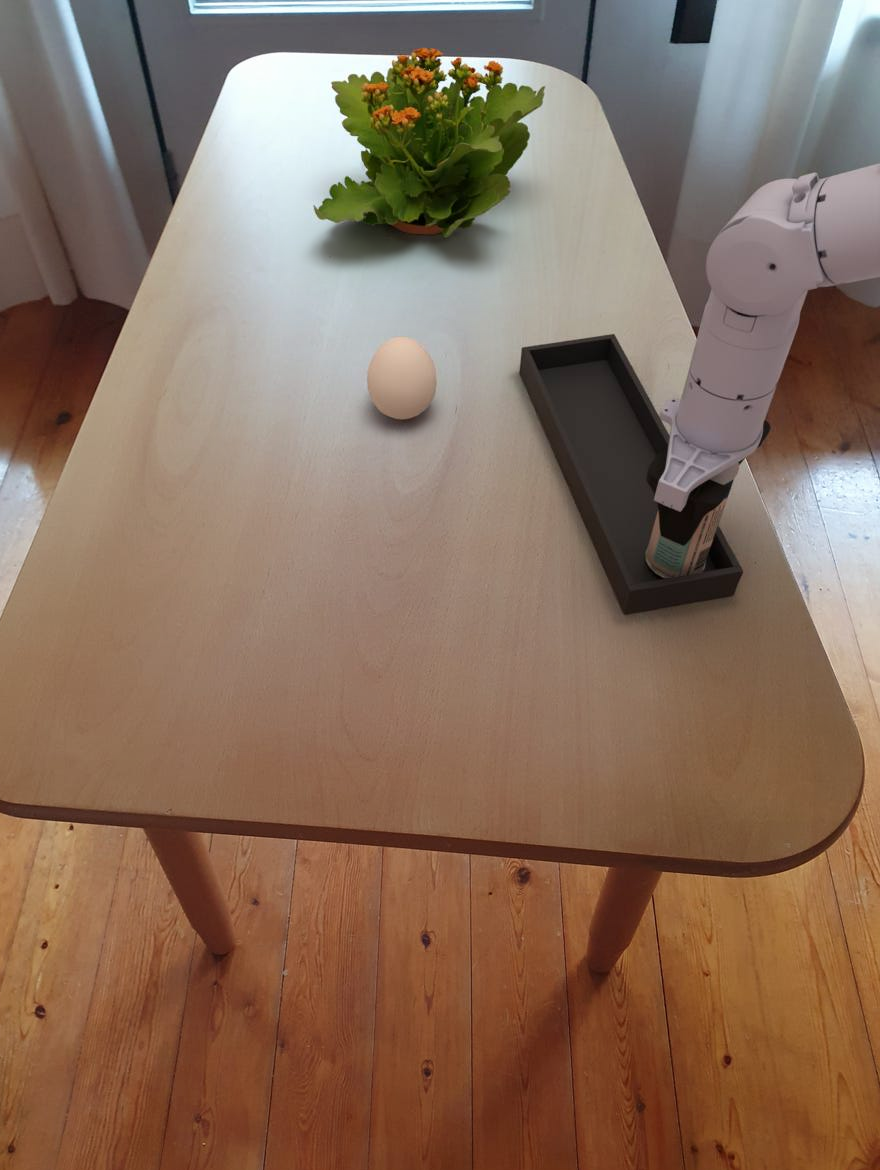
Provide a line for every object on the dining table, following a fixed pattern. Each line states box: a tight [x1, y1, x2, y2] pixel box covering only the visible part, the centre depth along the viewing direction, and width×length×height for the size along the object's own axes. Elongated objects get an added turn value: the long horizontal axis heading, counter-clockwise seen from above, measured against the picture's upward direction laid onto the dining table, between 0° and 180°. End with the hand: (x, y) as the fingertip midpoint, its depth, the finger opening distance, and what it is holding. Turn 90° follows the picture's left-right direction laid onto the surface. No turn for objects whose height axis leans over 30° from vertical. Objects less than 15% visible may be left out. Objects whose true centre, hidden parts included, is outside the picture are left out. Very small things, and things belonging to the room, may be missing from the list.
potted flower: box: [312, 47, 546, 239], centre depth 106 cm, size 25×24×18 cm
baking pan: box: [518, 333, 744, 616], centre depth 85 cm, size 31×9×3 cm, turn 11°
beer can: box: [646, 462, 740, 579], centre depth 75 cm, size 5×5×12 cm
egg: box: [366, 336, 438, 421], centre depth 89 cm, size 6×6×8 cm
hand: (689, 516), depth 75 cm, fingers closed on beer can, 5 cm apart
